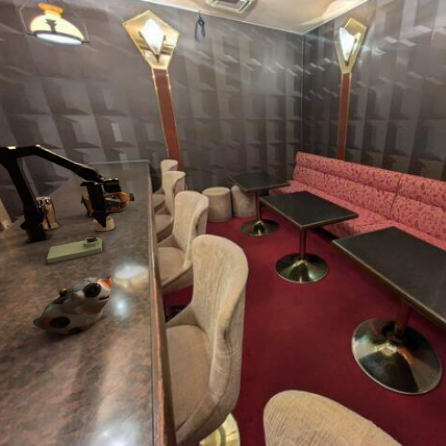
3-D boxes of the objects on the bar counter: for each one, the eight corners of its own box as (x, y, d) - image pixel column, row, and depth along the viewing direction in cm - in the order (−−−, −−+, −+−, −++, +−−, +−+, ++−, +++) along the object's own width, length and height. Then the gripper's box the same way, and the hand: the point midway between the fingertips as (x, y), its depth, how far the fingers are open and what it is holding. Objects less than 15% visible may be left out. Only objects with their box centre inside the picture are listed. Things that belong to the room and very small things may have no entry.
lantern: (90, 226, 140) (139, 214, 157) (86, 210, 129) (139, 199, 146) (79, 203, 144) (128, 194, 161) (75, 186, 132) (128, 178, 149)
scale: (48, 263, 91) (45, 255, 90) (52, 251, 100) (49, 243, 99) (103, 251, 101) (101, 244, 100) (102, 241, 110) (100, 234, 108)
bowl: (96, 228, 123) (93, 218, 121) (114, 225, 127) (111, 215, 125) (96, 233, 117) (93, 223, 116) (115, 229, 122) (112, 220, 120)
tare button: (87, 243, 101) (86, 239, 100) (87, 240, 103) (86, 237, 102) (96, 241, 102) (95, 238, 102) (96, 239, 104) (95, 235, 104)
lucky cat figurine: (71, 302, 72) (89, 260, 72) (112, 317, 74) (130, 275, 73) (18, 328, 57) (40, 275, 57) (71, 346, 59) (93, 294, 58)
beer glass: (49, 230, 118) (38, 200, 112) (37, 229, 119) (26, 199, 114) (64, 225, 124) (55, 197, 119) (53, 224, 125) (43, 195, 120)
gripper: (118, 196, 114) (126, 227, 119) (115, 188, 127) (122, 216, 133) (87, 200, 107) (96, 232, 113) (87, 191, 121) (96, 220, 126)
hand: (104, 225), depth 121 cm, fingers closed on bowl, 7 cm apart
